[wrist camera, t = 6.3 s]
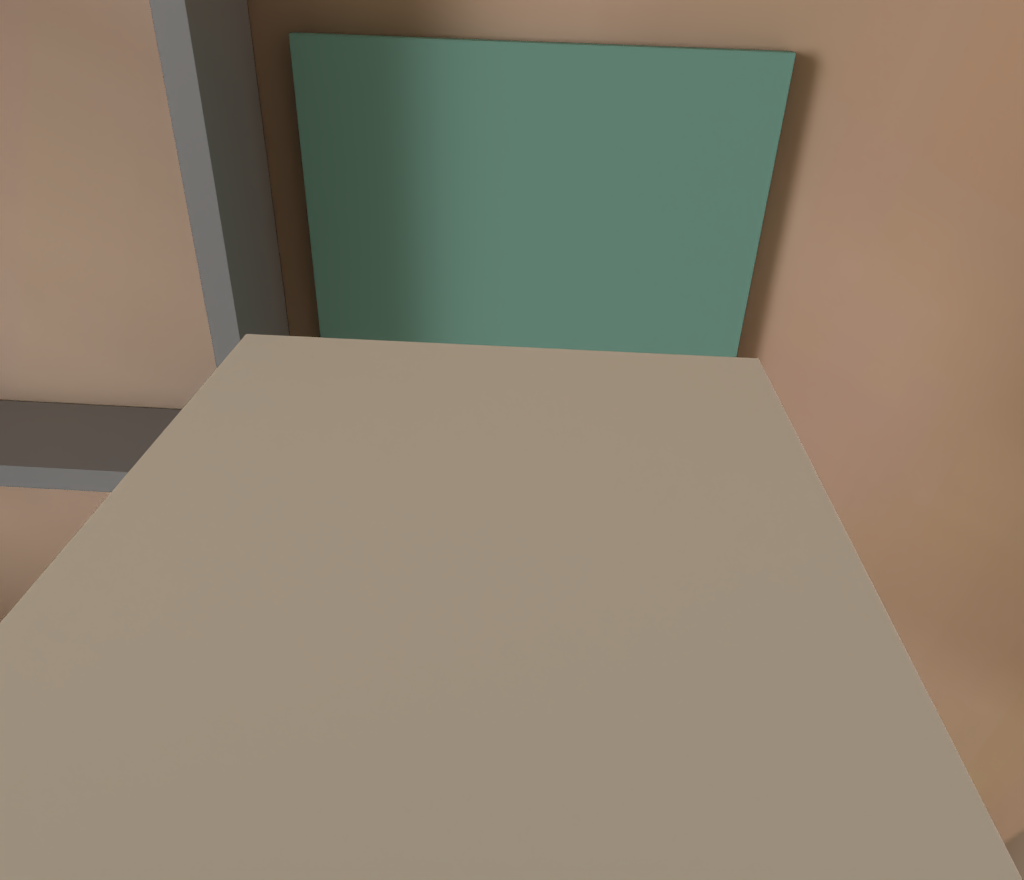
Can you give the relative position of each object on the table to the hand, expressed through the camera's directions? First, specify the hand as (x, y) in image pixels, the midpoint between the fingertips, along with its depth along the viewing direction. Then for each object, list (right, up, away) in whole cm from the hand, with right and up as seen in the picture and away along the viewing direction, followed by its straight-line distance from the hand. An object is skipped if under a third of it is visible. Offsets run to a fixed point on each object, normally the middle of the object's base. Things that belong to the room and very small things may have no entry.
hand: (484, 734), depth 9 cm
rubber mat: (+1, +6, +10) cm, 12 cm away
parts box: (0, +1, +1) cm, 1 cm away
